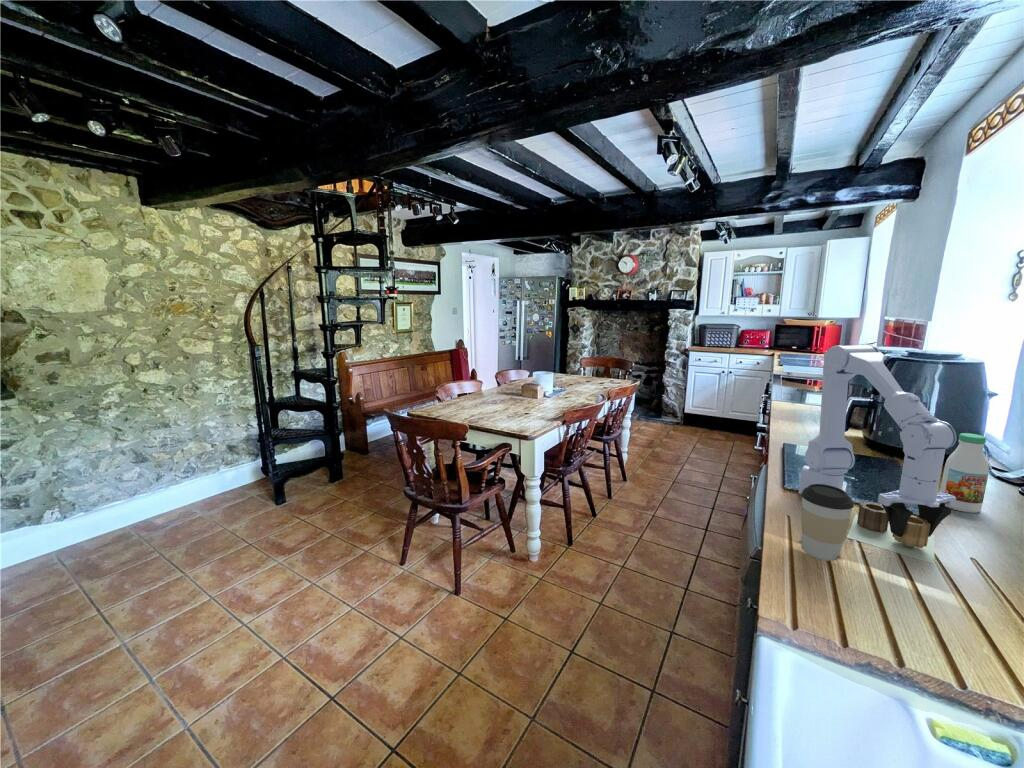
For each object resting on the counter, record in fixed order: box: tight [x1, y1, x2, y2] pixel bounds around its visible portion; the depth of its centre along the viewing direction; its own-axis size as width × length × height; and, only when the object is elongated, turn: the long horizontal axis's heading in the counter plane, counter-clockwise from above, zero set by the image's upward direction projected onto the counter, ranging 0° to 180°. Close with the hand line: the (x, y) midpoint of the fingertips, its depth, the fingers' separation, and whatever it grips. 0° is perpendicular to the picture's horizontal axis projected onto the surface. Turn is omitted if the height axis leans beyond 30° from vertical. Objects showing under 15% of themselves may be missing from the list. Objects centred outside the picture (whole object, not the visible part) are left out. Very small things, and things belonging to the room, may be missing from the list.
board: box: [846, 513, 936, 565], centre depth 92 cm, size 14×15×4 cm
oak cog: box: [892, 514, 931, 548], centre depth 88 cm, size 5×5×5 cm
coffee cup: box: [800, 484, 855, 562], centre depth 88 cm, size 9×9×15 cm
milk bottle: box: [939, 432, 990, 514], centre depth 106 cm, size 8×8×20 cm
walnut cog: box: [857, 501, 889, 533], centre depth 96 cm, size 5×5×5 cm
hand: (910, 534), depth 88 cm, fingers closed on oak cog, 5 cm apart
